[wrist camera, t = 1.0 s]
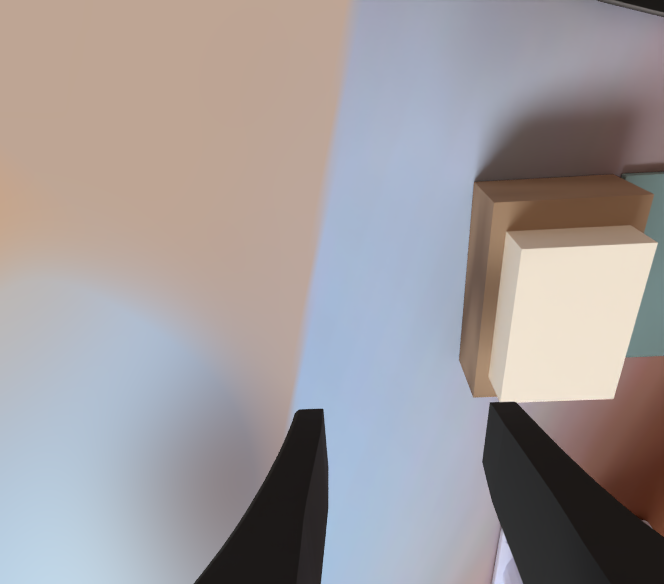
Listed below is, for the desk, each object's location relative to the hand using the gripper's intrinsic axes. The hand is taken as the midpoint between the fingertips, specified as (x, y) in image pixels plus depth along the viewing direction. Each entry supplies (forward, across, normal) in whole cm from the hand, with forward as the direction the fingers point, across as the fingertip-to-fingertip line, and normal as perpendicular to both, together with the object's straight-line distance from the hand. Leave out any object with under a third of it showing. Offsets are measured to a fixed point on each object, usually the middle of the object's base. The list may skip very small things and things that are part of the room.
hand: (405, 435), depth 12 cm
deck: (+8, -6, 0) cm, 10 cm away
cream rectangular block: (+6, -6, 0) cm, 8 cm away
